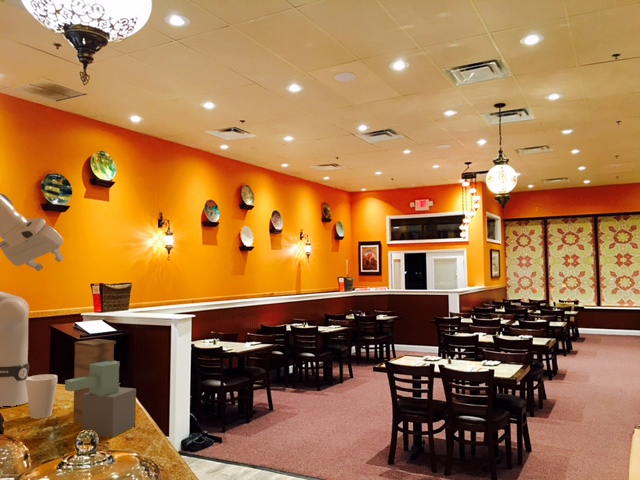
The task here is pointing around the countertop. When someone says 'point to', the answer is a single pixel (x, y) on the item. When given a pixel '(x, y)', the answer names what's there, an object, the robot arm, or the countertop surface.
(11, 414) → the countertop surface
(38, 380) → the foam cup
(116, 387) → the green mallet
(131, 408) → the riser
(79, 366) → the stand
